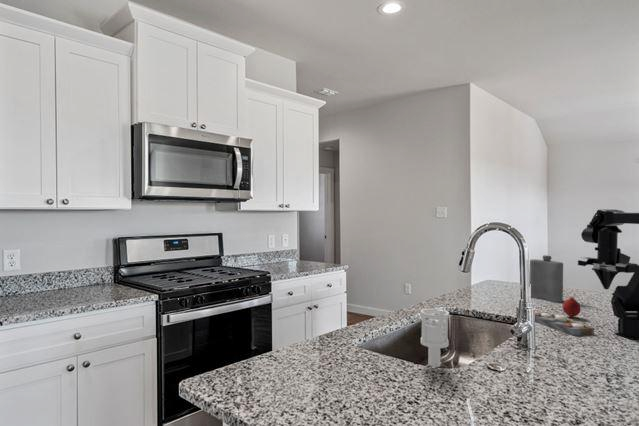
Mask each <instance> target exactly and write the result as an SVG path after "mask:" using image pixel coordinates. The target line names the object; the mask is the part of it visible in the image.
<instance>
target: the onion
mask: <svg viewBox="0 0 639 426" xmlns="http://www.w3.org/2000/svg"><path fill="white" fill-rule="evenodd" d="M568 297H569V298H568V299H566V300H565V301H564V302H562V303H563V304H562V310H563V313H564V314H566V316H567V317H569V318H574V317H576V316H578V315H579V314H580V312H581V305H580V304H579V303H580V302H578V301H577V300H576V299H575V298H573V296H568Z"/></svg>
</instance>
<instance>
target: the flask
mask: <svg viewBox="0 0 639 426" xmlns="http://www.w3.org/2000/svg"><path fill="white" fill-rule="evenodd" d="M530 284H531V297H530V298H532V299H540V300H542V301H543V300H544V301H549V302H552V303H558V304H559V303H564V302H563V299H564V298H563V295H564V263H563V262H560V261H555V260H554V261H553V260H552V256H551V255H545V254H544V255H543V256H542V259H536V258H535V259H533V258H531V259H530V260H529V285H530Z"/></svg>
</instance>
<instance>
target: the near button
mask: <svg viewBox="0 0 639 426" xmlns="http://www.w3.org/2000/svg"><path fill="white" fill-rule="evenodd" d="M578 323H579V322H577V323H571V324H572V325H573V327H576V328H582V327H584V325H585V324H583V323H580V324H578ZM582 324H583V325H582Z"/></svg>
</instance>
